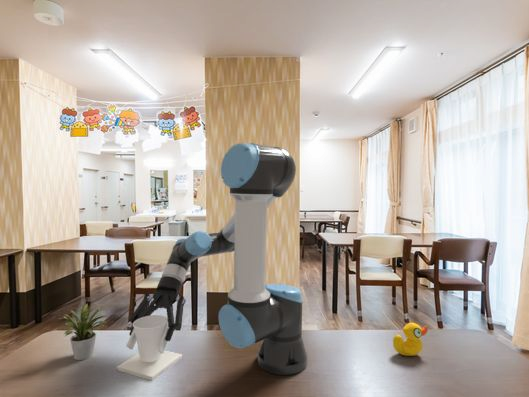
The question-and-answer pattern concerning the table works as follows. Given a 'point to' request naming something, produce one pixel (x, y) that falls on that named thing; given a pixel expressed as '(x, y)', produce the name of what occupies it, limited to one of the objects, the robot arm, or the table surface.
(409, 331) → the duckling
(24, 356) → the table surface
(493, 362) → the table surface
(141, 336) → the cup
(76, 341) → the house plant
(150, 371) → the placemat
